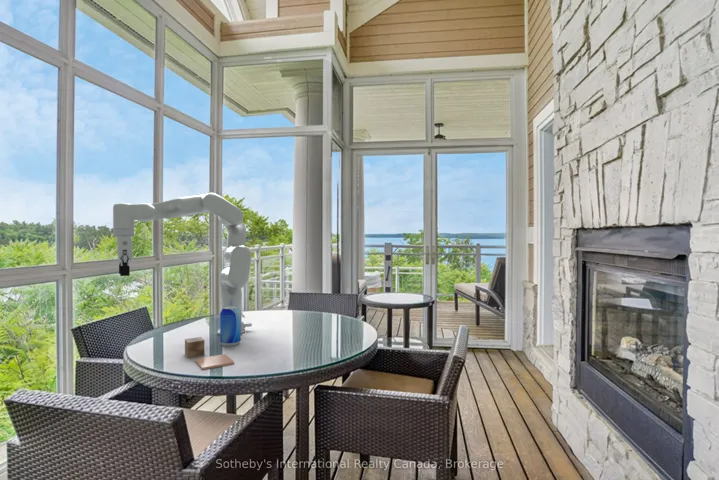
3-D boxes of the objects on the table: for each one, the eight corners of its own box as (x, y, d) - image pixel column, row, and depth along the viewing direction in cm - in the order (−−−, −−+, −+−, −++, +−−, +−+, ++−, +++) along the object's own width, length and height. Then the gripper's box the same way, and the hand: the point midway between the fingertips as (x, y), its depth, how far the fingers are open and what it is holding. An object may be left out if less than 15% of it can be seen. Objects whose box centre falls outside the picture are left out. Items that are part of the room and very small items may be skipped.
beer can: (244, 342, 167) (244, 305, 167) (232, 347, 159) (232, 309, 159) (228, 340, 170) (228, 304, 170) (215, 345, 162) (215, 308, 162)
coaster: (225, 355, 148) (225, 353, 148) (234, 363, 139) (234, 361, 139) (195, 361, 142) (195, 359, 142) (202, 369, 133) (202, 367, 133)
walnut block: (200, 351, 154) (200, 336, 154) (204, 355, 149) (204, 340, 149) (184, 354, 150) (184, 339, 150) (188, 358, 146) (187, 342, 146)
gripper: (136, 233, 152) (136, 276, 152) (133, 233, 166) (133, 272, 166) (113, 233, 148) (114, 277, 148) (112, 233, 162) (112, 273, 162)
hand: (124, 274), depth 157 cm, fingers open, 9 cm apart
